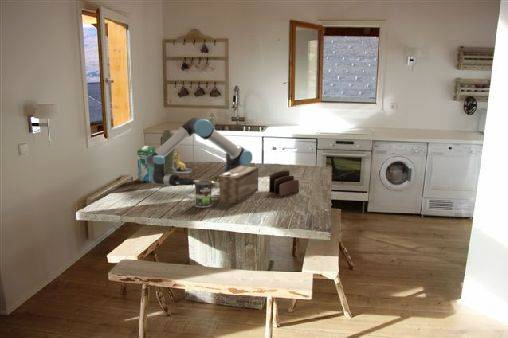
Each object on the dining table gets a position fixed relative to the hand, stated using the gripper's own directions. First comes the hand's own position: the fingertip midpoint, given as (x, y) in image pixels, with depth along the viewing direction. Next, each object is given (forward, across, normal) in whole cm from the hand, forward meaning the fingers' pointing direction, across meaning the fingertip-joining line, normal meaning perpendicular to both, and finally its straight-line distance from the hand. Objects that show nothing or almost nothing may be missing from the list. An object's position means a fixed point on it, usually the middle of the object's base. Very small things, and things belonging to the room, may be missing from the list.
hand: (202, 183), depth 302 cm
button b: (+13, -10, -2) cm, 17 cm away
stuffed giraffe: (-51, -57, -8) cm, 77 cm away
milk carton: (-57, -19, -8) cm, 61 cm away
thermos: (-51, -38, -8) cm, 64 cm away
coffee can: (+11, +19, -8) cm, 23 cm away
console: (+22, -10, -8) cm, 25 cm away
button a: (+13, 0, -2) cm, 13 cm away
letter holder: (+46, -30, -8) cm, 56 cm away
